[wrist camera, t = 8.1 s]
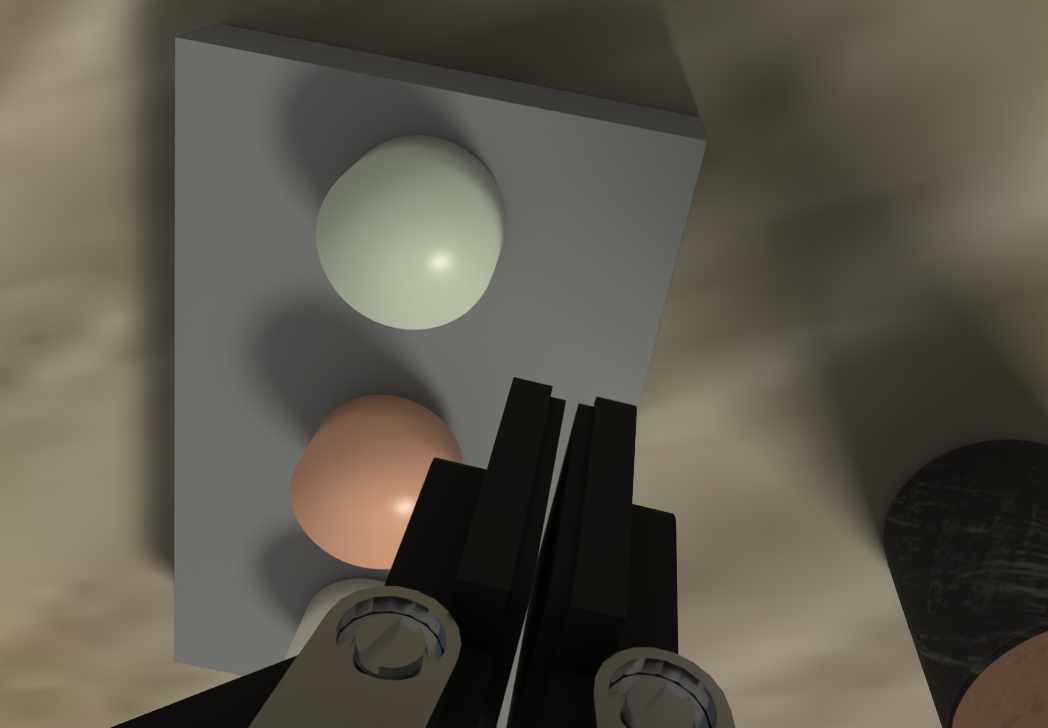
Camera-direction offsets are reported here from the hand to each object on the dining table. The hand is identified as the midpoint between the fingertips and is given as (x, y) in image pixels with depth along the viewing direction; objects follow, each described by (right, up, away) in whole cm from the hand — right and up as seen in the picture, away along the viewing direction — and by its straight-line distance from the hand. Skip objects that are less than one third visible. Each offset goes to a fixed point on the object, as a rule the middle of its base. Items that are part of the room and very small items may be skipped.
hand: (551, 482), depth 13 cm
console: (-4, 0, +19) cm, 20 cm away
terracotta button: (-4, -1, +17) cm, 17 cm away
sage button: (-3, +6, +14) cm, 15 cm away
